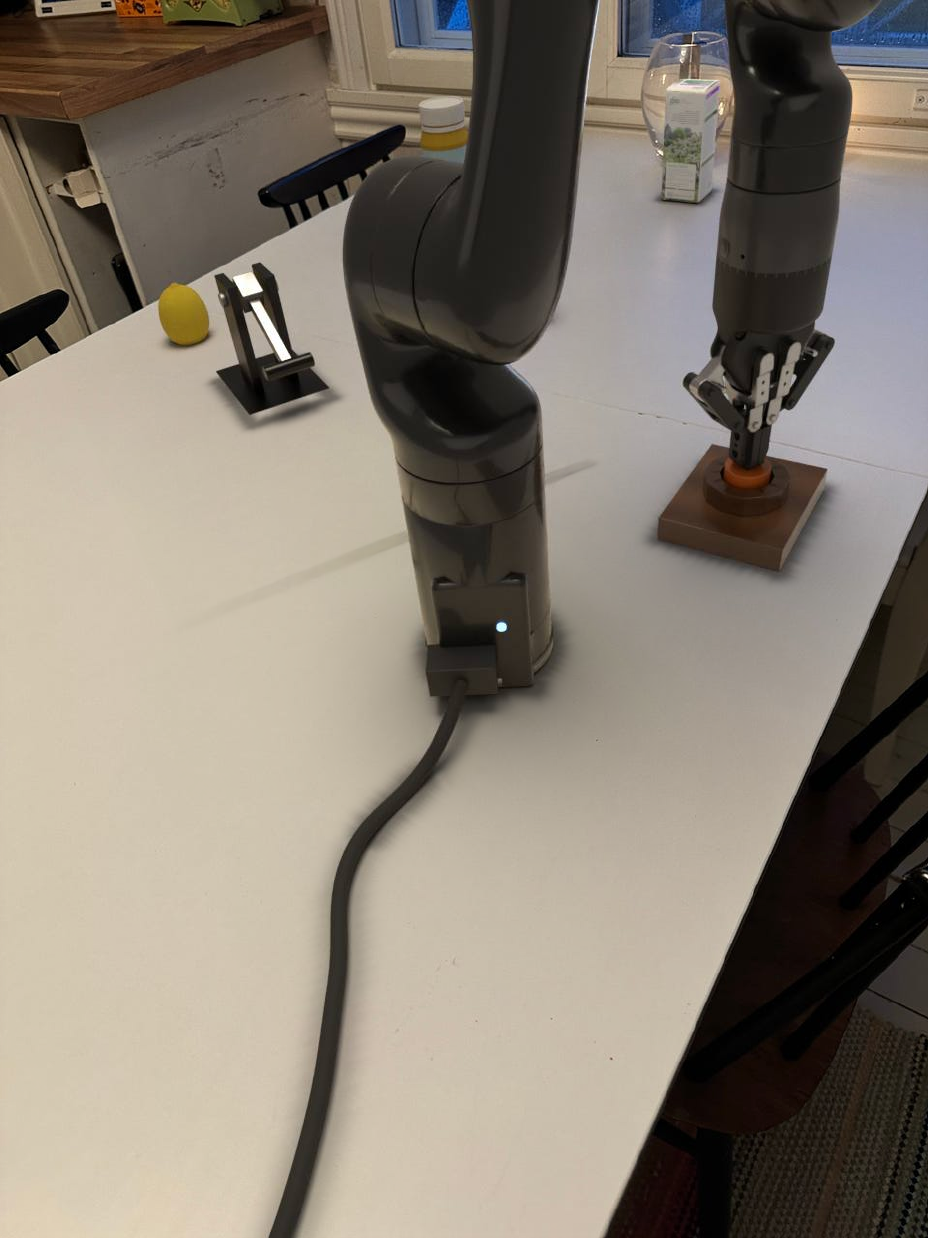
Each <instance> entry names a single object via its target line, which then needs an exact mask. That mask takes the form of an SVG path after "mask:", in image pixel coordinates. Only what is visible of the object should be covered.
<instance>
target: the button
mask: <svg viewBox="0 0 928 1238" xmlns="http://www.w3.org/2000/svg"><path fill="white" fill-rule="evenodd" d="M771 468H772V466H771V463H770V462H769V460H768V459H766V458H765V460H764V463H763V464H762V465H759V466H757V467H755V468H753V469H750V470H748V471H747V470H745V469H744V468H742V467H740V466H739V465H737V464H736V463H734V462H733V460H732V459H730V458H728V459H727V461H726V462H725V468H724V477H723V481H724V482H726V483H727V484H729V485H730V486H732V487H736V488H740V489H744V490H748V489H760V488H762V487H764V486H767V485H769V482H770V475H771Z"/></svg>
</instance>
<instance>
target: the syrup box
mask: <svg viewBox="0 0 928 1238" xmlns="http://www.w3.org/2000/svg"><path fill="white" fill-rule="evenodd" d="M720 88H721V81H720V80H719V79H698V78H697V79H696V78H694V79H693V78H680V79H678V80H676V81H674V82H673V83H671V84H670V85H669V86H668V87H667V88H666V89H665V97H664V98H665V101H664V122H663V123H664V125H663V148H662V149H663V151H662V173H661V200H664V201H671V202H673V201H674V202H681V203H682V202H683V203H693V204H698V203H700V202H701V201H703V199H705V198H706V197H707V196H708V195H709V194H710V193H711V192H712V190H713V183H714V182H713V180H714V164H715V152H716V151H715V150H716V138H717V137H716V136H717V126H718V115H719V101H720V91H721V90H720Z"/></svg>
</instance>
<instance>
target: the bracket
mask: <svg viewBox="0 0 928 1238" xmlns="http://www.w3.org/2000/svg"><path fill="white" fill-rule="evenodd" d="M251 269H252V272H253V273H254V275H255V277H256V279H257V281H258V282H259V284H260V286H261V288H262V290H263V294H264V306H265V307H264V308H265V310H266V312H267V314H268V316H269V318H270V319H271V321H272V323H273V325H274V327H275V329H276V330H277V332H278V334H279V336H280V338H281V340H282V341H283V343H284V345H285V347H286V349H287V351H288V352H289V354H290V356H291V358H292V357H295V356H298V354H297V352H295V351H294V349H293V347H292V342H291V340H290V336H289V335H290V334H289V331H288V325H287V322H286V317H285V314H284V309H283V305H282V301H281V297H280V293H279V290H280V288H279V284H278V281H277V280H276V275H275V274H274V273H272V271H271V270H270V269H268V268H267V267H266V266H265V265H264V263H262V262H261V261H260V262H257V263H253V264H251ZM213 277H214V281H215V284H216V287H217V291H218V293H217V298H218V301H219V304H220V306H221V307H222V309H223V312H224V316H225V319H226V323H227V326H228V329H229V333H230V337H231V340H232V344H233V347H234V351H235V355H236V358H237V361H238V363H237V364H234V365H230V366H227V367H225V368H224V367H223V368H221V369H218V370H216V371H215V373H216V374H217V375H218V376H219V378H220V379H221V380H222V382H223V383H224V384H225V386H226V387H227V389H228V390H229V391H230V392H231V393H232V394H233V396H234V397H235V399H236V400H237V401H238V402H239V403H240V405H241V406H242V408H243V409H244V410H245V412H247V414H248V415H249V416H252V415H254V414H257V413H260V412H263V411H267V410H270V409H272V408H275V407H278V406H281V405H284V404H287V403H290V402H293V401H295V400H299V399H302V398H305V397H309V396H311V395H314V394H316V393H320V392H322V391H326V390H328V389H330V387H329V386H328V384H327V383H326V382H324V381H323V379H322V378H321V377H320V376H319V375H318V374H317V373H316V372H315V371H314V370H313V369H312V367H311V368H308V369H305V370H301V371H298V372H295V373H292V374H289V375H286V376H283V377H280V378H277V379H274V380H271V381H267V380H266V378H265V376H264V374H263V370H262V368H263V367H264V366H267V365H270V364H273V363H277V362H279V361H278V359H277V357H276V356H275V354H274V352H273V351H272V352H271V353H268V354H265V355H262V356H259V357H256V353H255V350H254V347H253V343H252V338H251V335H250V331H249V327H248V324H247V320H246V316H245V313H244V311H243V308H242V305H241V301H240V297H239V293H238V290H237V286H236V285H235V284H234V283H233V280H231V279H230V277H228V275H226V274H225V272H221V273H218V274H214V276H213Z"/></svg>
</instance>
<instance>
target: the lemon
mask: <svg viewBox="0 0 928 1238" xmlns="http://www.w3.org/2000/svg"><path fill="white" fill-rule="evenodd" d="M157 303H158V304H157V305H158V308H157V309H158V317H159V321H160V325H161V328H162V329H163V331H164V332H165V334H166V335H167V337H168V338H169V339H170V340H171V341H172V342H174V343H176V344H178V345H180V346H191V345H196V344H198V343H200V342H202V341H204V340H205V338H206V337H207V335H208V333H209V331H210V330H209V329H210V316H209V312H208V309H207V307H206V304H205V302H204V300H203V298H202V297H201V296H200V294H199V293H198V292H197V291H196V290H195V289H193V288H192V287H191V286H189V285H185V284H179V283H177V282H172V283H171V284H170V285H169V286H168V287H167V288H165V289H164V290H163V291H162V292H161V295H160V296H159V299H158V302H157Z"/></svg>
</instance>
